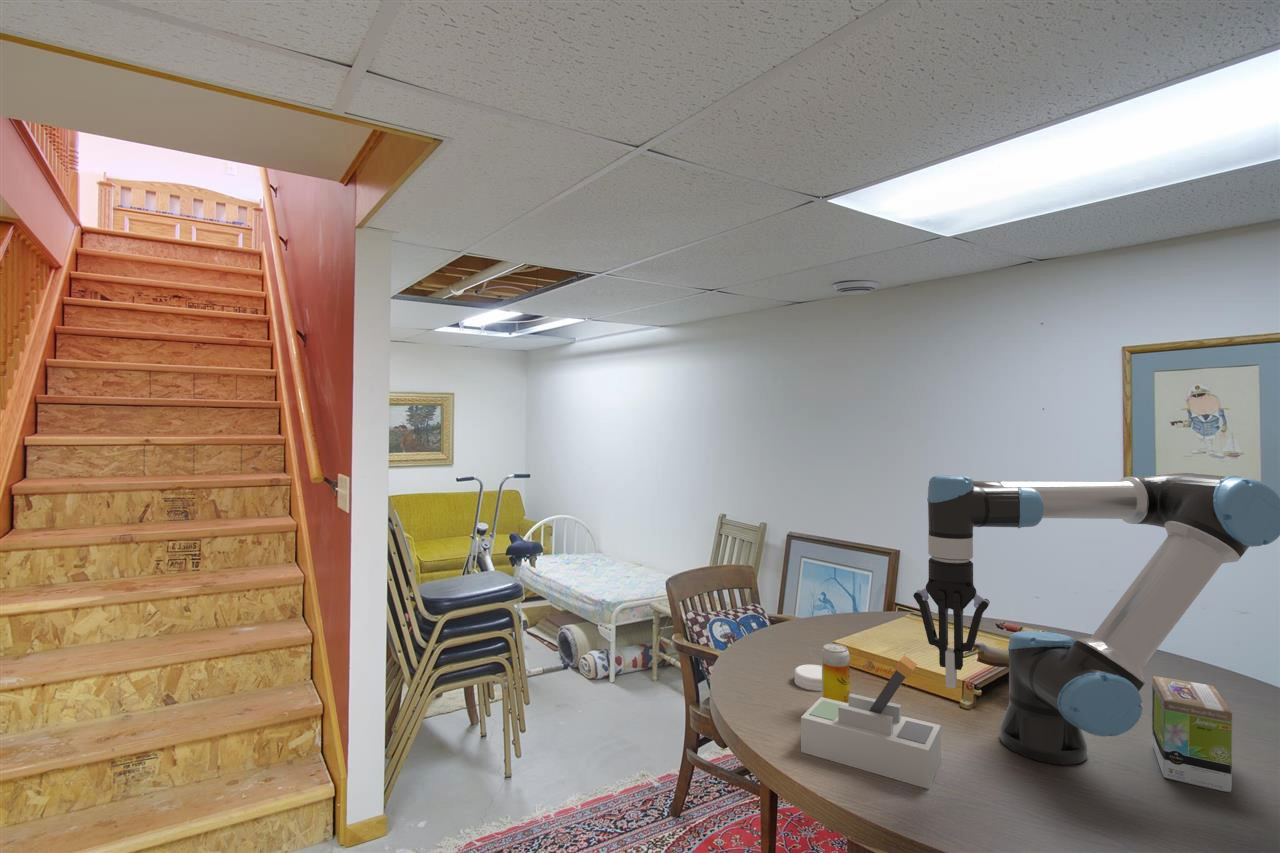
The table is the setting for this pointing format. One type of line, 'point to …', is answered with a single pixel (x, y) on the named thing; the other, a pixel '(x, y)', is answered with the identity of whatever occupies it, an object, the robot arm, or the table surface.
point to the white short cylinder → (809, 677)
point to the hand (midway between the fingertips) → (951, 685)
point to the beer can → (835, 672)
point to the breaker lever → (893, 684)
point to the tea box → (1192, 733)
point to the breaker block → (872, 739)
